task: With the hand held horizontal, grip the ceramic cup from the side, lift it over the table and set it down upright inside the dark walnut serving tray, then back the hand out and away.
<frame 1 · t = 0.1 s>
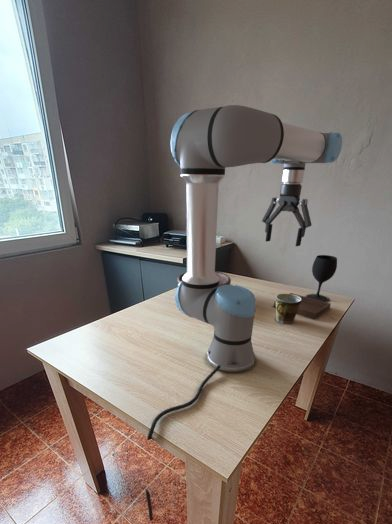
hand: (282, 243, 118), 28 cm above the table, tool pointing down, fingers open, 13 cm apart
wine glass: (316, 298, 143), on the table
ceramic cup: (282, 322, 119), on the table
tray: (301, 308, 132), on the table
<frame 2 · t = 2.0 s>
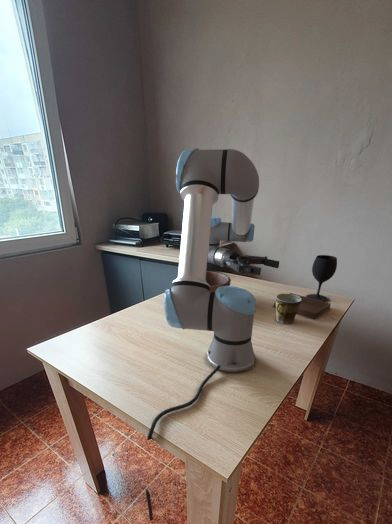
hand: (269, 268, 114), 20 cm above the table, tool horizontal, fingers open, 13 cm apart
nothing on the table moved.
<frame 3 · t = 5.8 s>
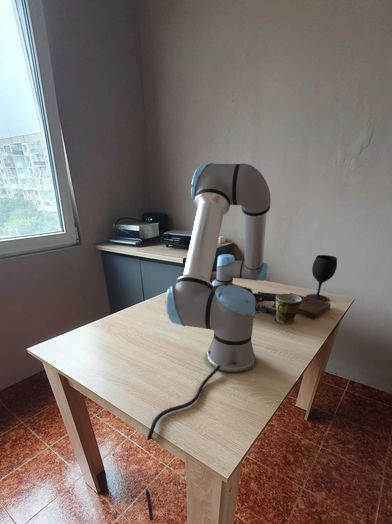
hand: (284, 308, 116), 6 cm above the table, tool horizontal, fingers open, 13 cm apart
ceramic cup: (282, 322, 119), on the table, touching gripper
everything else where it was.
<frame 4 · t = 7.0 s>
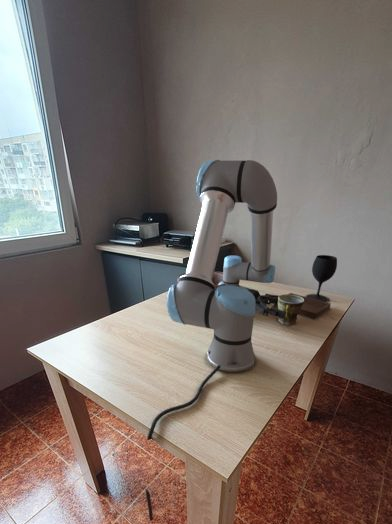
hand: (293, 310, 114), 6 cm above the table, tool horizontal, fingers closed on ceramic cup, 12 cm apart
ceramic cup: (286, 323, 118), on the table, touching gripper
everything else where it was.
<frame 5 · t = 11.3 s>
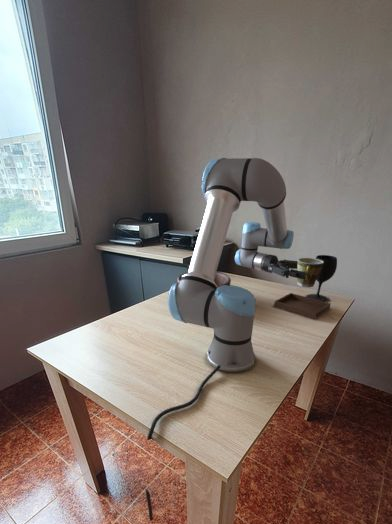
hand: (312, 272, 117), 18 cm above the table, tool horizontal, fingers closed on ceramic cup, 12 cm apart
ceramic cup: (305, 286, 121), point 12 cm above the table, touching gripper
everything else where it was.
when the fingers open (7 cm above the table, at t = 15.8 s): ceramic cup stays where it is, resting on tray.
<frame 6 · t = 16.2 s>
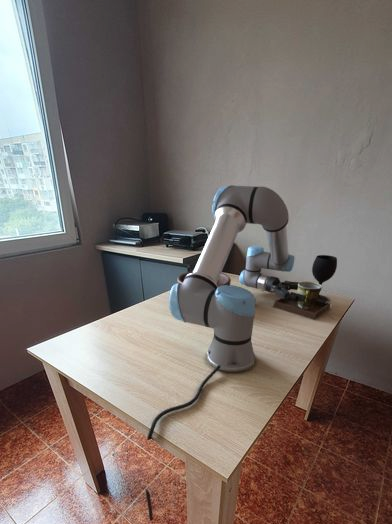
hand: (311, 294, 126), 7 cm above the table, tool horizontal, fingers open, 13 cm apart
ceramic cup: (304, 307, 131), point 1 cm above the table, touching tray
everything else where it was.
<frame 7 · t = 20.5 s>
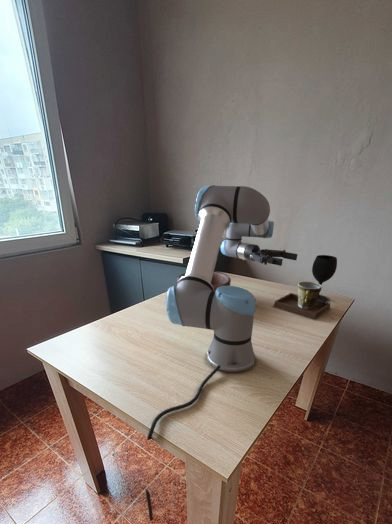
hand: (289, 259, 127), 20 cm above the table, tool horizontal, fingers open, 13 cm apart
nothing on the table moved.
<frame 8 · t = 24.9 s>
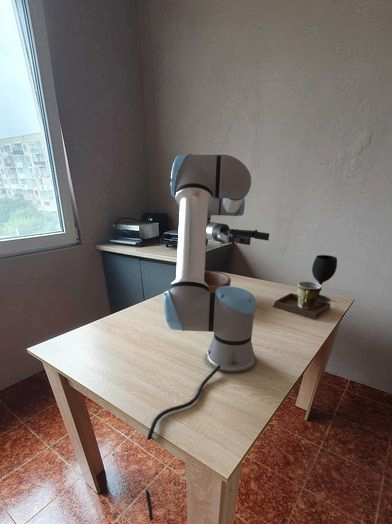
hand: (259, 239, 115), 30 cm above the table, tool horizontal, fingers open, 13 cm apart
nothing on the table moved.
at the end: ceramic cup inside the target area in the tray (1.7 cm from its centre), point 0.6 cm above the tray's base; ceramic cup tilted 0°; the gripper is holding nothing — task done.
